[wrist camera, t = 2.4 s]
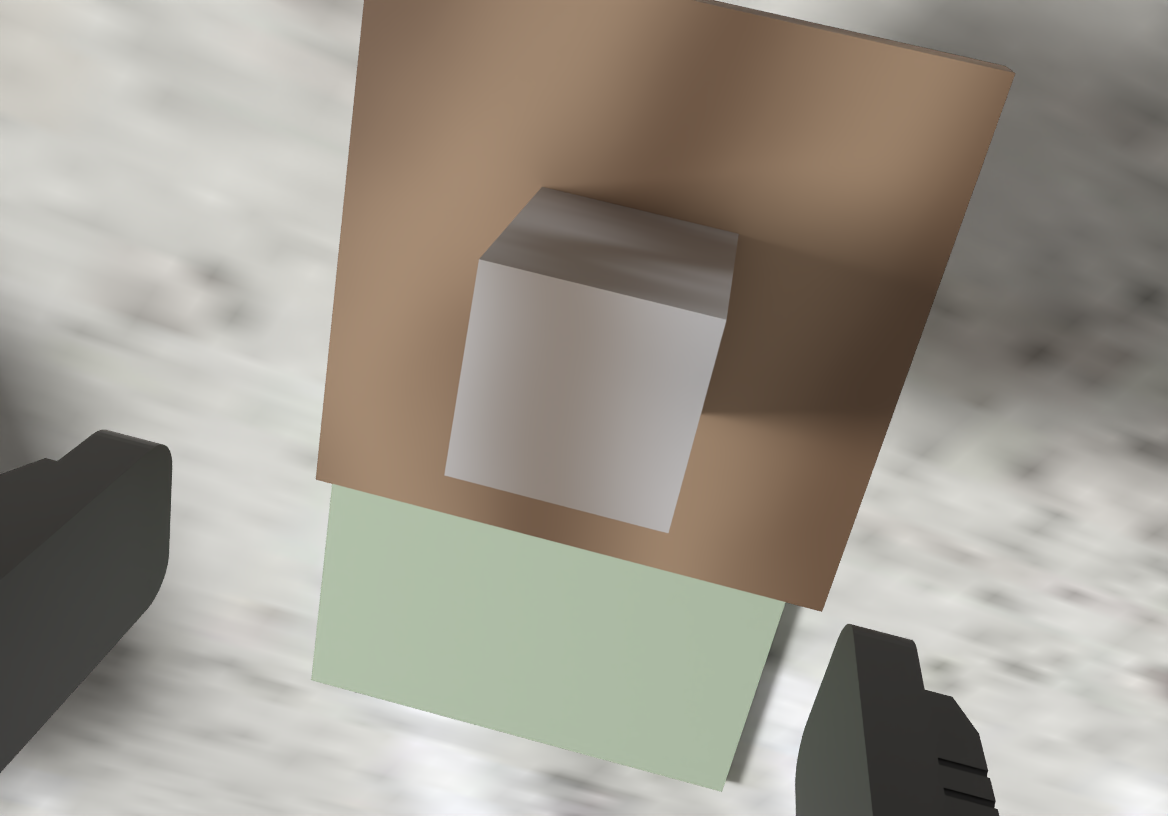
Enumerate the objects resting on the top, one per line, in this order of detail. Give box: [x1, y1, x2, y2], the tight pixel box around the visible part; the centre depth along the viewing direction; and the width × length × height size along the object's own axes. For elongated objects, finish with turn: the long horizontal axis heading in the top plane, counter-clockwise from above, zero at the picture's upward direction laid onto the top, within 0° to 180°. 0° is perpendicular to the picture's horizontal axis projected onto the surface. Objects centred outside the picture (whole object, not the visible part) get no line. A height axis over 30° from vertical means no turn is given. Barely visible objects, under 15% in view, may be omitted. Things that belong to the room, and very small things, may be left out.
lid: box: [316, 0, 1015, 612], centre depth 21 cm, size 12×12×6 cm
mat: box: [311, 484, 786, 792], centre depth 39 cm, size 16×13×1 cm
